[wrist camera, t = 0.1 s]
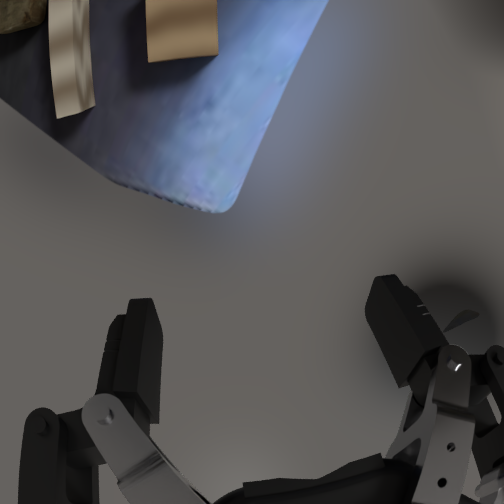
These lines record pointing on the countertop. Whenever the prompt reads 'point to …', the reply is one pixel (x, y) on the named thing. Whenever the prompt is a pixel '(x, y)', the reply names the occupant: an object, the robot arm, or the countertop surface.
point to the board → (70, 56)
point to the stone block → (21, 14)
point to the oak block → (181, 29)
